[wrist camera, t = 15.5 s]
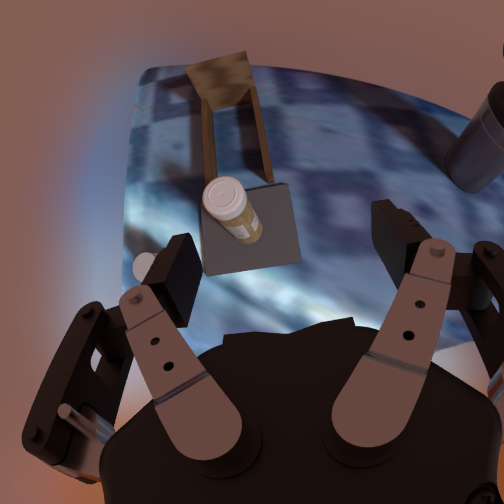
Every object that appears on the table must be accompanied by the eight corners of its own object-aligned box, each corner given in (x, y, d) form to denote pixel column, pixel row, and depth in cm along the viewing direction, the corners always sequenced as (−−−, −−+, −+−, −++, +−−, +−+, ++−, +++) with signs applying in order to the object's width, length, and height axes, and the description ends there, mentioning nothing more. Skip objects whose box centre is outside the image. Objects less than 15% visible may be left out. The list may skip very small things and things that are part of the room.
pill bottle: (191, 274, 43) (166, 265, 35) (171, 296, 43) (143, 292, 35) (172, 254, 44) (145, 241, 36) (153, 275, 44) (124, 267, 36)
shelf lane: (258, 97, 48) (245, 51, 36) (274, 182, 44) (263, 140, 32) (207, 108, 49) (185, 66, 38) (213, 194, 45) (184, 158, 34)
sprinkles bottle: (269, 226, 41) (252, 188, 28) (250, 251, 41) (224, 223, 28) (244, 209, 43) (219, 167, 30) (226, 233, 42) (192, 200, 29)
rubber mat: (288, 185, 43) (287, 183, 42) (301, 261, 40) (301, 260, 40) (201, 202, 45) (200, 201, 44) (207, 276, 42) (206, 275, 42)
